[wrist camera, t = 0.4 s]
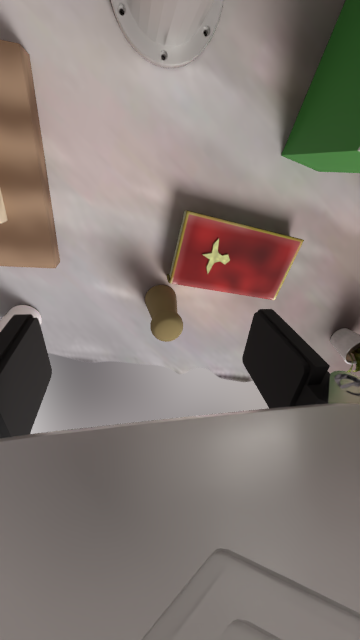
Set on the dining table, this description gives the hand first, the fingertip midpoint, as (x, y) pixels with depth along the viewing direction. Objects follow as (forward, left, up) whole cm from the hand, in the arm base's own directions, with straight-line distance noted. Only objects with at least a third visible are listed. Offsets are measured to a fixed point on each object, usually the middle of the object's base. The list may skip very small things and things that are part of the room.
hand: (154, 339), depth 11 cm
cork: (+15, +5, -33) cm, 36 cm away
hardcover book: (+6, +17, -34) cm, 38 cm away
